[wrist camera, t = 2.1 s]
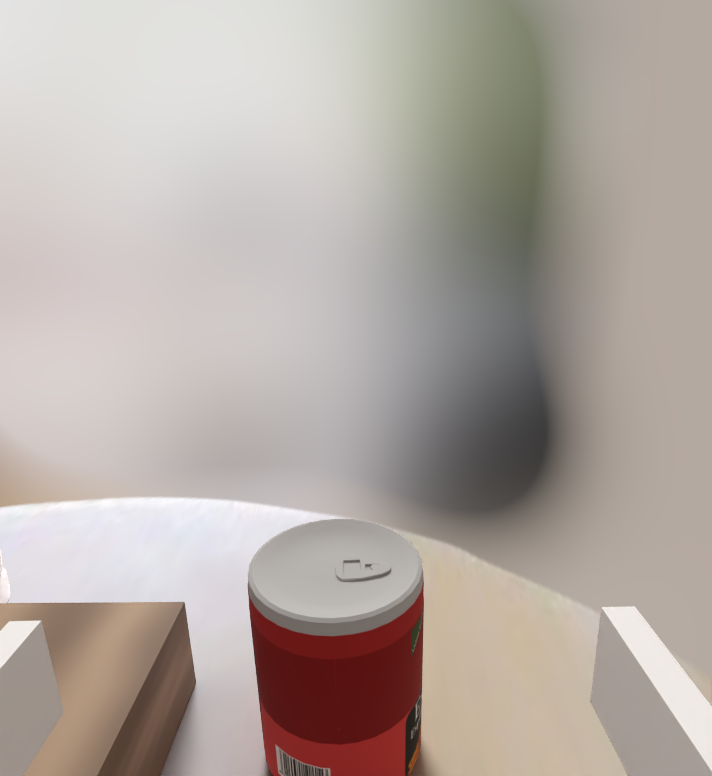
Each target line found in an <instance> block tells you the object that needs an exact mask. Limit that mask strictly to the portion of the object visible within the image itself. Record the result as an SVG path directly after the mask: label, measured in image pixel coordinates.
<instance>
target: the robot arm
mask: <svg viewBox="0 0 712 776" xmlns="http://www.w3.org/2000/svg"><path fill="white" fill-rule="evenodd" d="M590 702H591V704H592V706H593V708H594V710H595V712H596V714H597V715H598V717H599V719H600V721H601V723H602V725H603V727H604V729H605V731H606V733H607V735H608V737H609V739H610V741H611V743H612V745H613V747H614V749H615V751H616V753H617V755H618V757H619V759H620V761H621V763H622V765H623V767H624V769H625V771H626V773H627V775H628V776H712V707H711V705H710V704H709V703H708V701H707V700H706V699H705V698H704V696H703V695H702V694H701V692H700V691H699V690H698V688H697V687H696V686H695V684H694V683H693V682H692V681H691V679H690V678H689V677H688V675H687V674H686V673H685V671H684V670H683V669H682V667H681V666H680V665H679V664H678V662H677V661H676V660H675V658H674V657H673V656H672V654H671V653H670V652H669V651H668V649H667V648H666V647H665V645H664V644H663V643H662V641H661V640H660V639H659V638H658V636H657V635H656V634H655V632H654V631H653V630H652V629H651V627H650V626H649V624H648V623H647V622H646V620H645V619H644V618H643V617H642V615H641V614H640V613H639V611H638V610H637V609H636V607H602V608H601V616H600V624H599V633H598V641H597V649H596V658H595V666H594V675H593V683H592V692H591V700H590ZM63 713H64V711H63V707H62V703H61V699H60V695H59V690H58V686H57V682H56V678H55V674H54V670H53V666H52V662H51V658H50V654H49V650H48V646H47V642H46V638H45V633H44V629H43V625H42V621H9V622H8V623H7V624H6V625H5V626H4V627H3V628H2V630H1V631H0V776H24V774H25V773H26V771H27V769H28V768H29V766H30V765H31V763H32V762H33V760H34V758H35V757H36V755H37V754H38V752H39V751H40V749H41V747H42V746H43V744H44V743H45V741H46V740H47V738H48V736H49V735H50V733H51V732H52V730H53V729H54V727H55V725H56V724H57V722H58V721H59V719H60V718H61V716H62V714H63Z"/></svg>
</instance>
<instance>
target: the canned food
mask: <svg viewBox="0 0 712 776" xmlns="http://www.w3.org/2000/svg"><path fill="white" fill-rule="evenodd" d="M423 586H424V580H423V569H422V560H421V557H420V555H419V552H418V550H417V549H416V548H415V546H414V545H413V544H412V542H410V541H409V540H408V539H407V538H406V537H404V536H403V535H402V534H400V533H398V532H396V531H395V530H393V529H391V528H388V527H385V526H383V525H380V524H376V523H372V522H368V521H362V520H354V519H331V520H321V521H315V522H310V523H306V524H302V525H299V526H296V527H293V528H291V529H288V530H286V531H284V532H282V533H280V534H278V535H276V536H275V537H273V538H271V539H270V540H269V541H268V542H266V543H265V544H264V545H263V546H262V547H261V548H260V549H259V550H258V551H257V553H256V554H255V555H254V557H253V559H252V561H251V563H250V566H249V572H248V595H249V609H250V619H251V628H252V637H253V647H254V656H255V665H256V675H257V684H258V693H259V703H260V712H261V721H262V730H263V740H264V748H265V755H266V761H267V763H268V766H269V768H270V771H271V773H272V775H273V776H410V774H411V771H412V769H413V767H414V765H415V762H416V760H417V758H418V753H419V748H420V743H421V703H422V658H423V613H424V597H423Z"/></svg>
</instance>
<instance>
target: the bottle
mask: <svg viewBox="0 0 712 776" xmlns="http://www.w3.org/2000/svg"><path fill="white" fill-rule="evenodd" d="M10 596H11V593H10V584H9V580H8V577H7V573H6V569H5V568H4V567H3V559H2V554H1V550H0V603H7V602H8V600H9V598H10Z"/></svg>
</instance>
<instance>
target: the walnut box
mask: <svg viewBox="0 0 712 776" xmlns="http://www.w3.org/2000/svg"><path fill="white" fill-rule="evenodd" d="M9 621H42V625H43V629H44V633H45V638H46V642H47V646H48V650H49V654H50V658H51V662H52V666H53V670H54V674H55V678H56V682H57V686H58V690H59V695H60V699H61V703H62V707H63V711H64V713H63V714H62V716H61V718H60V719H59V721H58V722H57V724H56V725H55V727H54V729H53V730H52V732H51V733H50V735H49V736H48V738H47V740H46V741H45V743H44V744H43V746H42V747H41V749H40V751H39V752H38V754H37V755H36V757H35V758H34V760H33V762H32V763H31V765H30V766H29V768H28V769H27V771H26V773H25V774H24V776H160V774H161V772H162V769H163V766H164V764H165V761H166V759H167V756H168V753H169V751H170V748H171V746H172V743H173V740H174V738H175V735H176V733H177V730H178V728H179V725H180V722H181V720H182V717H183V715H184V712H185V709H186V707H187V704H188V702H189V699H190V696H191V694H192V691H193V689H194V686H195V683H196V679H195V672H194V665H193V658H192V651H191V644H190V638H189V631H188V624H187V617H186V610H185V603H184V602H133V603H0V631H1V630H2V628H3V627H4V626H5V625H6V624H7V623H8V622H9Z"/></svg>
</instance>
